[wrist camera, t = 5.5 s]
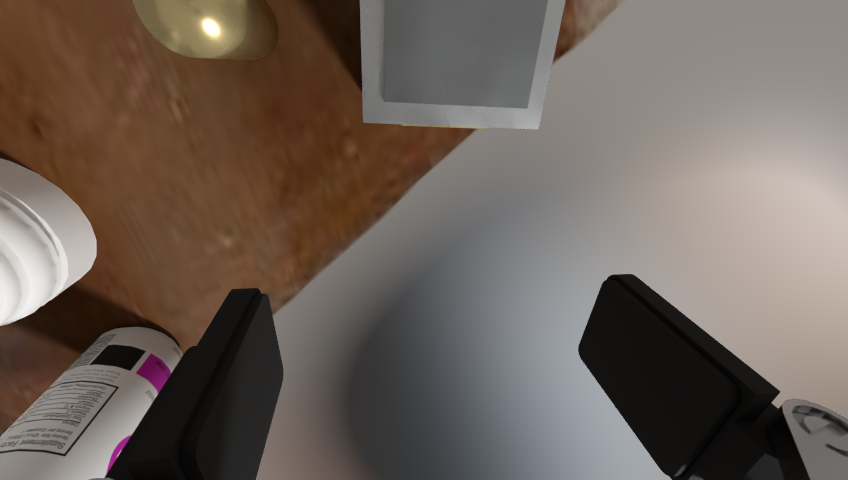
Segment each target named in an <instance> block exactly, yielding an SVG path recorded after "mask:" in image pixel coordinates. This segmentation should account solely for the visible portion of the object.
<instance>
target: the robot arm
mask: <svg viewBox="0 0 848 480" xmlns="http://www.w3.org/2000/svg"><path fill="white" fill-rule="evenodd" d="M578 351H579V355H580V358H581V359H582V361H583V362H584V363H585V365H586V366H587V368H588V369H589V370H590V372H591V373H592V375H593V376H594V377H595V379H596V380H597V382H598V383H599V384H600V386H601V387H602V389H603V390H604V391H605V393H606V394H607V395H608V397H609V398H610V400H611V401H612V402H613V404H614V405H615V407H616V408H617V409H618V411H619V412H620V414H621V415H622V416H623V418H624V419H625V421H626V422H627V423H628V425H629V426H630V428H631V429H632V430H633V432H634V433H635V434H636V436H637V437H638V439H639V440H640V442H641V443H642V444H643V446H644V447H645V448H646V450H647V451H648V452H649V454H650V455H651V457H652V458H653V460H654V461H655V462H656V464H657V465H658V467H659V468H660V469H661V470H662V472H664V473H665V474H666V475H668V476H670V478H671V479H672V480H848V419H846V418H845V417H843V416H841V415H839V414H837V413H836V412H834V411H832V410H830V409H827V408H825V407H823V406H820V405H818V404H816V403H812V402H809V401H805V400H800V399H790V400H786V401H785V402H784V403H783V404H782V405H781V406H780V407H779V408H777V407H775V406H774V405H773V404H772V403H771V402H772V401H773V400H774V399H775V398H776V396H777V395H778V394H779V393H780V391H779V390H778V389H777V388H775V387H774V386H773V385H771V384H770V383H769V382H768V381H766V380H765V379H764V378H763V377H761V376H760V375H759V374H758V373H756V372H755V371H754V370H753V369H751V368H750V367H749V366H748V365H746V364H745V363H744V362H743V361H741V360H740V359H739V358H738V357H736V356H735V355H734V354H733V353H731V352H730V351H729V350H728V349H726V348H725V347H724V346H723V345H721V344H720V343H719V342H718V341H716V340H715V339H714V338H712V337H711V336H710V335H709V334H707V333H706V332H705V331H704V330H703V329H701V328H700V327H699V326H697V325H696V324H695V323H694V322H692V321H691V320H690V319H689V318H687V317H686V316H685V315H684V314H682V313H681V312H680V311H678V310H677V309H676V308H675V307H674V306H672V305H671V304H670V303H669V302H667V301H666V300H665V299H664V298H662V297H661V296H660V295H659V294H657V293H656V292H655V291H654V290H652V289H651V288H650V287H649V286H647V285H646V284H645V283H644V282H642V281H641V280H640V279H639V278H637V277H636V276H634V275H632V274H622V275H611V276H609V277H608V278H607V280H605V281H604V282H603V284H602V286H601V288H600V291H599V294H598V296H597V299H596V302H595V305H594V307H593V310H592V312H591V315H590V318H589V320H588V323H587V325H586V328H585V331H584V333H583V336H582V339H581V341H580V344H579V348H578ZM282 381H283V365H282V360H281V355H280V350H279V346H278V341H277V336H276V331H275V326H274V321H273V316H272V311H271V307H270V302H269V297H268V295H267V294H261V292H260V290H259V289H258V288H250V289H233V290H231V291H230V292H229V294H228V296H227V297H226V299H225V301H224V302H223V304H222V305H221V307H220V309H219V310H218V312H217V314H216V315H215V317H214V318H213V320H212V322H211V323H210V325H209V327H208V328H207V330H206V331H205V333H204V335H203V336H202V338H201V340H200V341H199V343H198V345H197V346H192V347H191V348H189V349H188V350H187V351H186V352H185V353H184V355H183V356H182V357H181V359H180V361H179V362H178V364H177V365H176V367H175V368H174V370H173V372H172V373H171V375H170V376H169V378H168V379H167V381H166V382H165V384H164V386H163V387H162V389H161V390H160V392H159V393H158V395H157V396H156V398H155V400H154V401H153V403H152V404H151V406H150V407H149V409H148V410H147V412H146V414H145V415H144V417H143V418H142V420H141V421H140V423H139V424H138V426H137V428H136V429H135V431H134V432H133V434H132V435H131V437H130V438H129V440H128V442H127V443H126V445H125V446H124V448H123V449H122V451H121V452H120V454H119V456H118V457H117V459H116V460H115V462H114V463H113V465H112V466H111V468H110V470H109V471H108V473H107V474H106V476H105V477H104V478H92V479H89V480H256V476H257V472H258V469H259V465H260V461H261V458H262V454H263V451H264V447H265V443H266V440H267V436H268V433H269V429H270V425H271V422H272V418H273V414H274V411H275V407H276V404H277V400H278V396H279V393H280V389H281V385H282Z"/></svg>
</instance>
